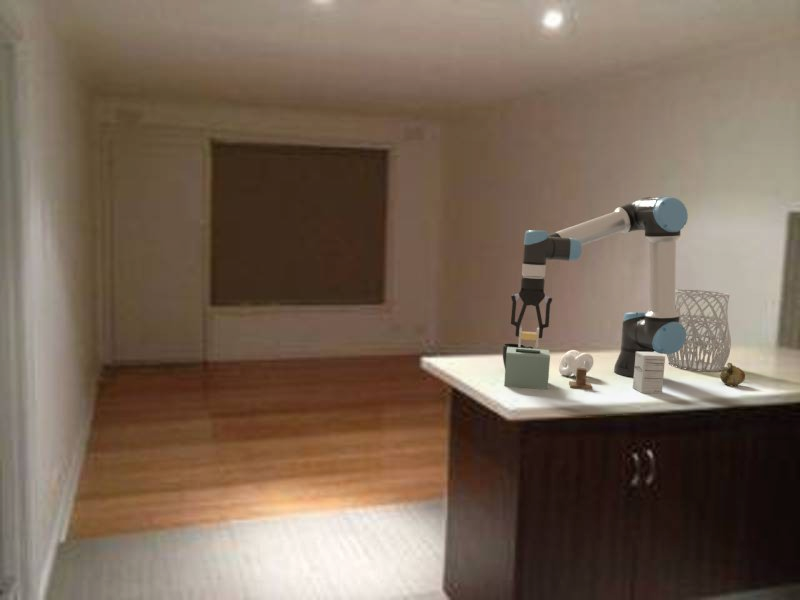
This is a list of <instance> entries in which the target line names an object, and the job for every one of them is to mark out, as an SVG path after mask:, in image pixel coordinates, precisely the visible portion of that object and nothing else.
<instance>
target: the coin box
mask: <svg viewBox="0 0 800 600" xmlns="http://www.w3.org/2000/svg"><path fill="white" fill-rule="evenodd" d="M550 360H551V354H550V349H542V348H538V349H537V348H533V349H530V348H516V347H507V352H506V367H504V384H503V386H506V387H515V388H526V389H527V388H528V389H539V390H540V389H541V390H548V389H549V388H548V387H549V378H550V375H549V373H550V362H551V361H550Z"/></svg>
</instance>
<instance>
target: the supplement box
mask: <svg viewBox="0 0 800 600" xmlns="http://www.w3.org/2000/svg"><path fill="white" fill-rule="evenodd" d="M665 362H666V356H665V355H664V354H660V353H657V352H655V351H654V352H636V356H635V367H634V377H632V378H633V381H632V389H635V390H637V391H638V392H640V393H642V394H660V395H661V394H662V393H663V385H664V383H663V382H664V374H665V373H664V372H665V364H666V363H665Z"/></svg>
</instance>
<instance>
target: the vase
mask: <svg viewBox="0 0 800 600" xmlns="http://www.w3.org/2000/svg"><path fill="white" fill-rule="evenodd" d="M683 295H684V296H683ZM730 296H731V295H730V293H727V292H721V291H720V292H719V291H714V290H701V289H700V290H699V289H675V310H676V312H677V313H678V314H679V315H680V324H682V325H683V327H684V328H685V330H686V340H685V343H684V345H683V346H682V347H681V348H680V349H679V351H677V352H675V353H673V354H666V358H667V361H668V364H669V363H670V364H671V365H670V364H669V365H670V366H672V365H673V366H672V367H674V366H677V367H676V368H678V367H681V368H680V369H682V368H686V369H685V370H688V369H692V370H691V371H696V370H700V371H699V372H720V371H719V370H721V371H723V370H722V369H721V367H722V366H723V367H726V366H725V365H727V363H728V360H729V356H730V353H731V346H732V341H731V333H730V329H729V321H728V319H729V318H728V308H729V307H728V306H729V305H728V304H729V299H730ZM698 297H700V299H698V300H696V298H698ZM711 298H712V301H709V300H710V299H711ZM679 299H680V301H679ZM689 299H690V300H691V301H690V302H688V304H687V301H688V300H689ZM702 300H703V301H702ZM721 300H722V301H721ZM700 301H701V302H702V303H701V304H699V303H700ZM715 301H716V302H715ZM693 302H694V303H693ZM714 302H715V303H714ZM692 303H693V304H692ZM705 303H707V304H706V306H704V308H702V306H703V305H705ZM713 303H714V305H712V304H713ZM683 304H684V305H685V308H684V310H683V311H682V312H681V308H682V306H683ZM691 304H692V305H691ZM690 305H691V306H690ZM716 305H718V306H717V307H716ZM689 306H690V307H689ZM695 306H697V309H696V310H695V312H694V313H693V314H692V313H691V310H692V309H693V308H694V307H695ZM709 307H710V310H709V312H708V313H707V314H706V315H705V313H704V312H705V311H706V310H707V309H708V308H709ZM715 307H716V309H714V308H715ZM719 309H720V313H719V315H718V314H717V312H719V311H718V310H719ZM699 311H700V313H699V314H698V312H699ZM685 312H686V313H685ZM684 313H685V314H684ZM711 313H712V314H713V315H712V316H710V315H711ZM697 314H698V315H697ZM721 316H722V317H721ZM702 319H703V320H702ZM696 324H697V325H696ZM684 325H685V326H684ZM689 327H690V328H689ZM688 329H689V330H688ZM703 329H706V330H704V332H703ZM699 330H700V332H699ZM714 332H715V333H714ZM690 337H691V338H690ZM698 347H699V351H698ZM706 355H707V359H705V358H706ZM705 360H706V361H705ZM710 361H711V362H710Z"/></svg>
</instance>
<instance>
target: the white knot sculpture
mask: <svg viewBox="0 0 800 600" xmlns="http://www.w3.org/2000/svg"><path fill="white" fill-rule="evenodd" d="M593 366H594V357H593V356H592V355H591V354H590V353H587V352H583V353H581V352H580V351H578V350H577V349H576V350H575V349H570V350H568V351H567V352H565V353H564V354H563V355H562V356H561V358H560V360H559V362H558V372H559V373H560V374H561V375H562V376H564V377H569V376H571V375H574V376H575V377H576V371H577V368H586V370H587V372H586V374H587V373H589V372H590V371H591V370H592V368H593Z"/></svg>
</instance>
